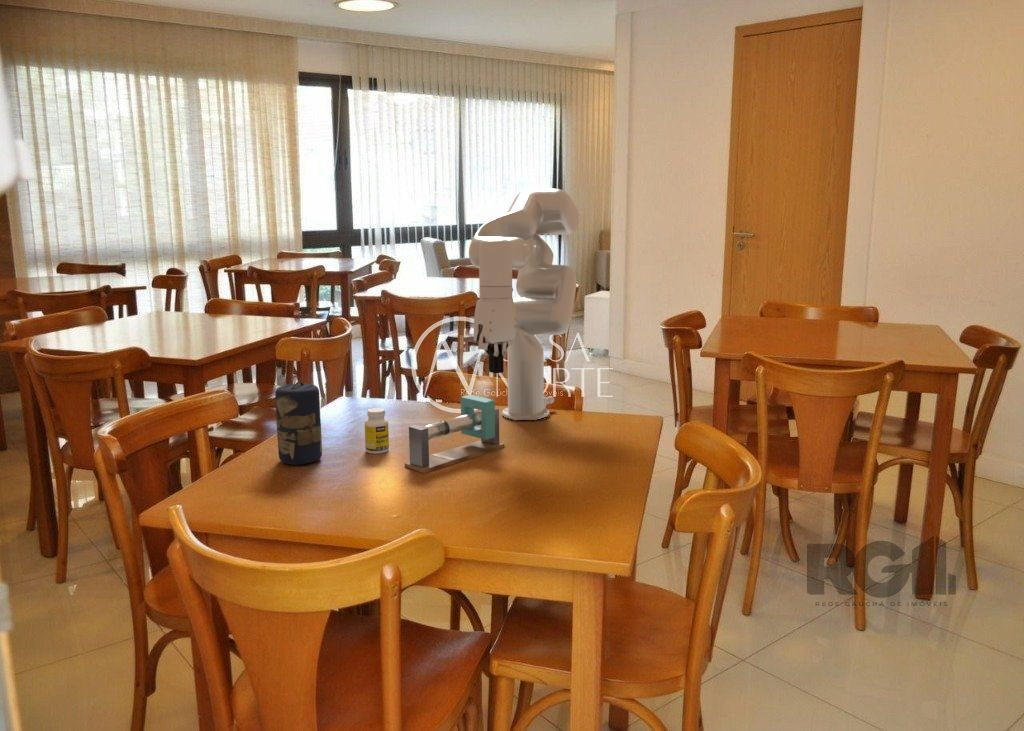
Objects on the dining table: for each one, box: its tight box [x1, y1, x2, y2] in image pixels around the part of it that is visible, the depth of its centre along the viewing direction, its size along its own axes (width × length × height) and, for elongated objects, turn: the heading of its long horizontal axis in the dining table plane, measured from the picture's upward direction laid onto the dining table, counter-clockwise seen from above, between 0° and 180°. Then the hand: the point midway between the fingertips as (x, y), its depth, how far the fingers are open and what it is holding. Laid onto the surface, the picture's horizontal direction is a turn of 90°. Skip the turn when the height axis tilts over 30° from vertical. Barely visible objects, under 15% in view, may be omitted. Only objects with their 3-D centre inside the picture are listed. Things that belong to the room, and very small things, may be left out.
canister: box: [274, 381, 323, 465], centre depth 187 cm, size 10×10×18 cm
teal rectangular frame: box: [460, 394, 496, 440], centre depth 195 cm, size 3×8×9 cm, turn 47°
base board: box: [404, 439, 506, 474], centre depth 191 cm, size 25×6×1 cm, turn 137°
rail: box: [408, 407, 500, 468], centre depth 190 cm, size 24×4×9 cm, turn 137°
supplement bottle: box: [364, 407, 390, 455], centre depth 195 cm, size 5×5×10 cm
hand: (496, 372), depth 197 cm, fingers closed
